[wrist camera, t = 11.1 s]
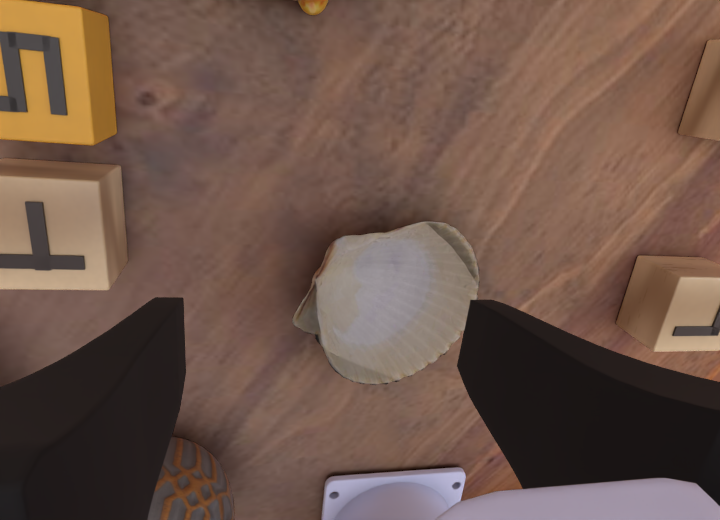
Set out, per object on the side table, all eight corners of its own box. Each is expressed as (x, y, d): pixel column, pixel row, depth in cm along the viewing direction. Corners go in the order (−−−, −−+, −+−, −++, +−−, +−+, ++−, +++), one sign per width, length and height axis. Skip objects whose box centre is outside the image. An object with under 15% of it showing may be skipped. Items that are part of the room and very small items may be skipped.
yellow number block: (118, 134, 18) (93, 146, 15) (-5, 125, 17) (-52, 137, 15) (108, 15, 17) (80, 6, 14) (-25, -1, 16) (-82, -14, 13)
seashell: (398, 353, 26) (503, 249, 23) (413, 400, 24) (532, 292, 20) (262, 304, 22) (365, 169, 19) (265, 356, 20) (383, 213, 16)
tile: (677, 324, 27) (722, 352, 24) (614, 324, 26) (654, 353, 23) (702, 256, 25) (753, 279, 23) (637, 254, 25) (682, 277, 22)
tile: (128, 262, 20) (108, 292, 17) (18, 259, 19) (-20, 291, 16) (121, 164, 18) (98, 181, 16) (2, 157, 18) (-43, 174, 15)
